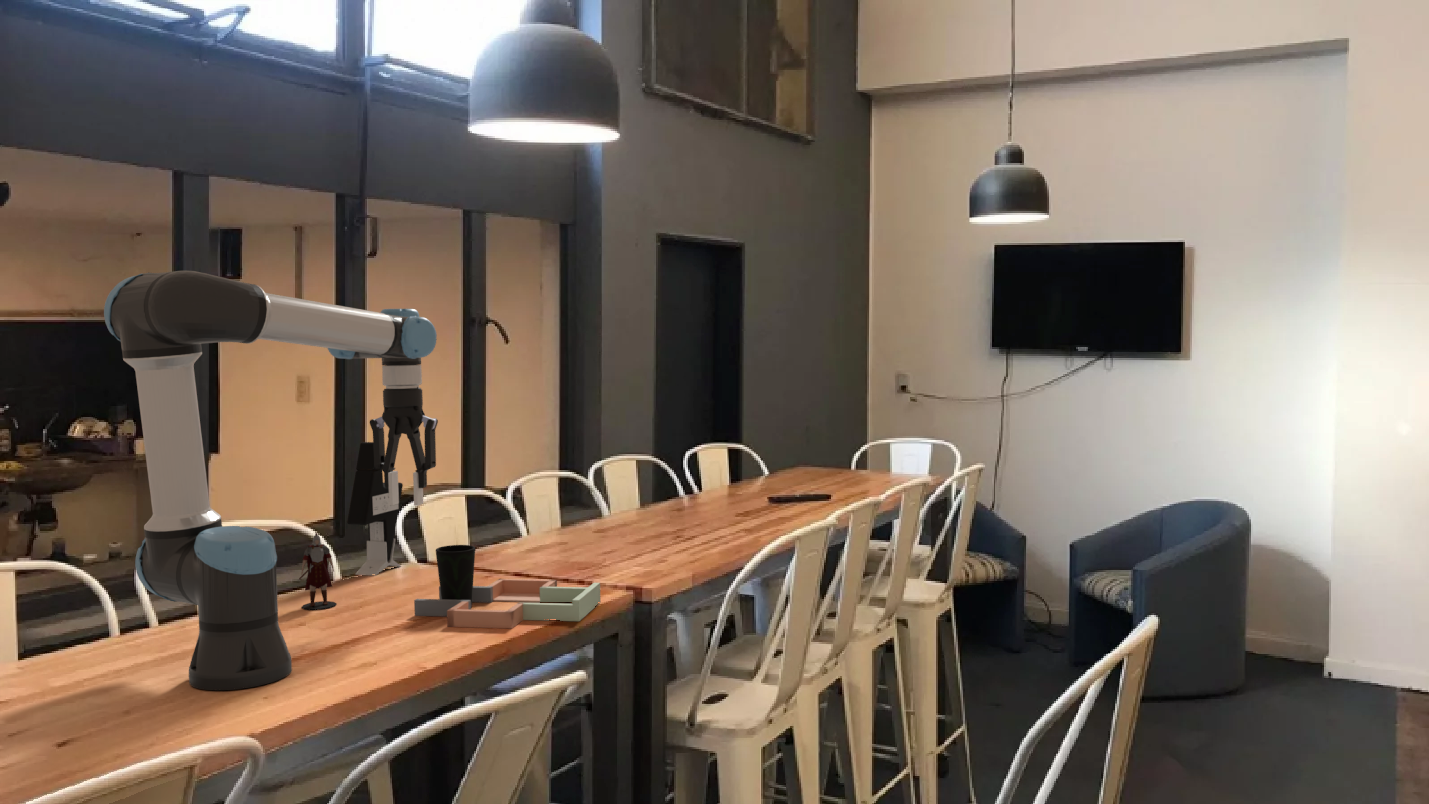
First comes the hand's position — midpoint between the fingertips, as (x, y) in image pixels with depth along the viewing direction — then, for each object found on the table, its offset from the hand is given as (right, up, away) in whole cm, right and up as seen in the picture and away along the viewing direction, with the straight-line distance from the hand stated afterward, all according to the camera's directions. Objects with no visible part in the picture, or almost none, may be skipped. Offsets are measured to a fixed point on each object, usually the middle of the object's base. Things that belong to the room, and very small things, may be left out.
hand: (406, 504), depth 224 cm
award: (-17, -19, +38) cm, 45 cm away
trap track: (+20, -21, -2) cm, 29 cm away
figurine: (-19, -21, +3) cm, 28 cm away
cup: (+10, -21, 0) cm, 23 cm away
